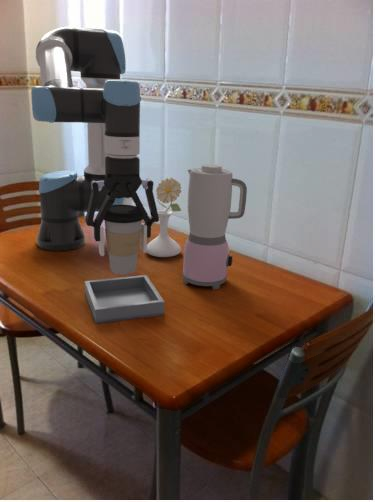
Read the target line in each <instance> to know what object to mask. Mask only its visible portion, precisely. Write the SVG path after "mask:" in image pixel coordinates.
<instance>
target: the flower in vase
mask: <svg viewBox="0 0 375 502" xmlns="http://www.w3.org/2000/svg"><path fill="white" fill-rule="evenodd" d="M181 185H182V184H181V183H180V181H178V180H176V179H175V178H173V177H170V178H168V177H166V178H165V179H162V180H161V182H159V183H158V186H156V189H155V192H156V199H157V203H158V204H159V205H160V206H162V207H163V208H165V209H166V210H165V209H160V210H159V209H158V210H157V212H158V216H159V226H160V229H159V234H158V236H156V237H155V238H154V239H152V240H150V242H147V252H146V253H147V254H149V255H151V256H152V257H153V256H154V257H157V258H171V257H175V256H177V255H179V254H180V253H181V251H182V248H181V245H180V244H178V242H176V241H175V240H174V239H173V238H171V237H170V236H169V233H168V224H169V219H170V217H171V215H173V212H181V211H182V209H181V207H180V205H179V204H178V203H177V202H175V201H176V200H177V198H179V197H180V194H181V193H182V186H181ZM174 202H175V203H174ZM169 203H170V204H169ZM165 204H169V206H168V207H167V206H166V205H165ZM170 208H171V210H172V211H171V210H169V209H170Z"/></svg>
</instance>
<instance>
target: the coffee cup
mask: <svg viewBox="0 0 375 502" xmlns="http://www.w3.org/2000/svg"><path fill="white" fill-rule="evenodd" d="M143 218H144V217H143V214H141V212H140V209H138V208H137V207H136V205H133V204H132V205H112V206H111V207H110V209H109V210H108V211H107V214H106V216H104V220H103V221H104V227H105V229H104V231H105V232H104V235H105V243H106V249H107V253H108V259H109V266H110V272H111V273H113V274H115V275H121V276H127V275H131V274H133V273H135V272H136V270H137V262H138V255H139V251H140V245H141V223H142V221H143Z"/></svg>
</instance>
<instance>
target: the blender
mask: <svg viewBox="0 0 375 502" xmlns="http://www.w3.org/2000/svg"><path fill="white" fill-rule="evenodd" d="M187 172H188V175H189V179H188V187H187V189H188V190H187V214H188V225H189V234H188V237H187V239H186V241H185V243H184V248H183V249H184V250H183V269H182V282H183V284H184V285H188V284H192V285H195V286H199V287H200V286H201V287H211V288H212V290H219V289H220V287H221V285H222V284H224V283H226V281H227V279H228V278H227V276H228V275H227V274H228V267H232V264H233V256H232V255H230V254H229V252H230V247H229V245H228V244H229V243H228V241H227V238H226V232H227V231H226V230H227V227H228V224H229V220H230V219H241V218H242V217H244V214H245V211H246V205H247V203H246V202H247V194H248V189H247V188H248V187H247V185H246V183H245V182H244V181H243V180H242V179H237V178H233V172H232V171H231V170H229V169H226V168H222V165H220V164H214V163H204V164H202V165H201V167H195V168H194V167H193V168H191V169H187ZM233 186H234V187H238V188H239V201H238V210H237V211H232V212H231V207H232V199H233V198H232V195H233Z"/></svg>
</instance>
